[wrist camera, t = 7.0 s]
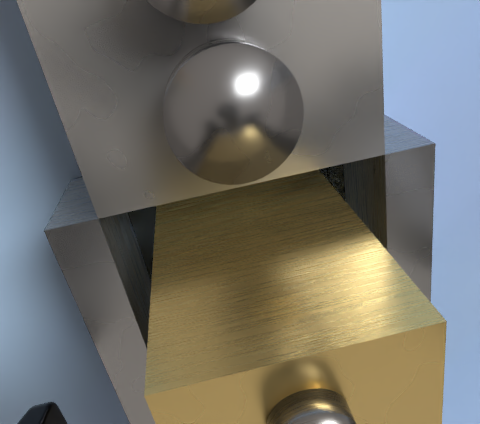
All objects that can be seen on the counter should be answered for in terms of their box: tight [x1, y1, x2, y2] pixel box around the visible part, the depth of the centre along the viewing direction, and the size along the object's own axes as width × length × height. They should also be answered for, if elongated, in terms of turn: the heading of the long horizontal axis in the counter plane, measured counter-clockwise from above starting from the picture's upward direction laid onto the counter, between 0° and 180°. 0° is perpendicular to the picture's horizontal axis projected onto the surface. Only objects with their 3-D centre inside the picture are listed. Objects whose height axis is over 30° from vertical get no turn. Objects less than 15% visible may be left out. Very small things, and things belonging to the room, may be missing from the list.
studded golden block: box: [144, 169, 447, 424], centre depth 9 cm, size 5×4×7 cm
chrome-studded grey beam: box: [16, 0, 435, 424], centre depth 11 cm, size 22×8×3 cm, turn 10°
